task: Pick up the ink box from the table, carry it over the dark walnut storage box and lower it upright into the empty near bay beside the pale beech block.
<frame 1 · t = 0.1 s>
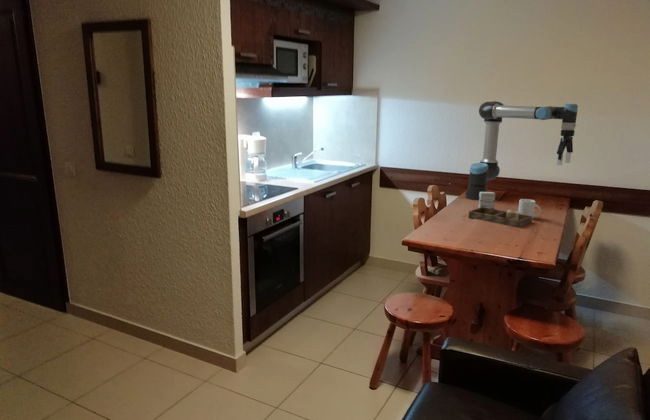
hand: (563, 163, 300), 28 cm above the table, fingers open, 13 cm apart
mug: (528, 219, 279), on the table
ink box: (485, 211, 296), on the table
storage box: (499, 220, 274), on the table
beech block: (511, 222, 269), point 1 cm above the table, touching storage box
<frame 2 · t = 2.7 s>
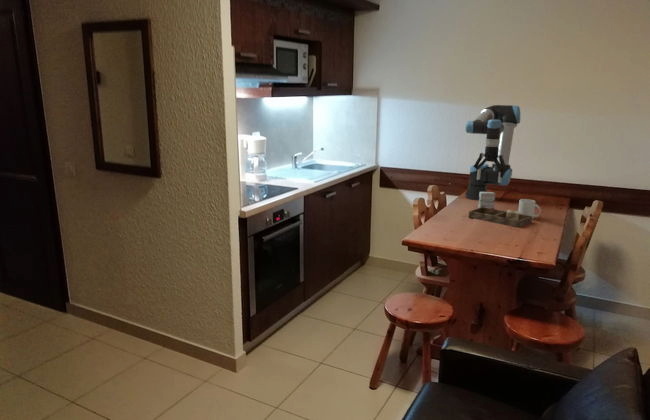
hand: (488, 181, 291), 19 cm above the table, fingers open, 13 cm apart
nothing on the table moved.
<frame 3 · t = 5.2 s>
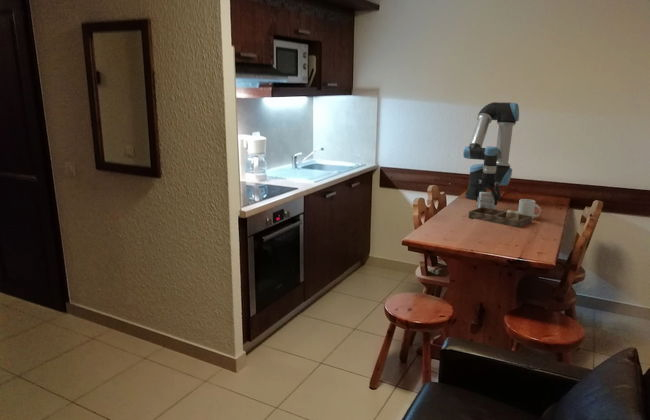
hand: (485, 208, 295), 2 cm above the table, fingers closed on ink box, 9 cm apart
ink box: (485, 211, 296), on the table, touching gripper
everything else where it was.
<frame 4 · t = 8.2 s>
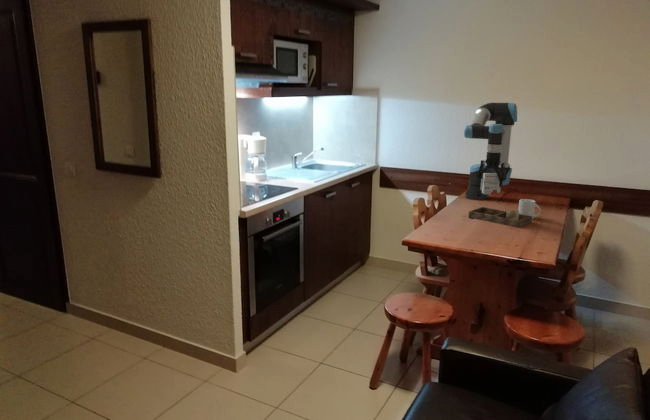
hand: (490, 190, 275), 16 cm above the table, fingers closed on ink box, 9 cm apart
ink box: (489, 193, 276), point 14 cm above the table, touching gripper
everything else where it was.
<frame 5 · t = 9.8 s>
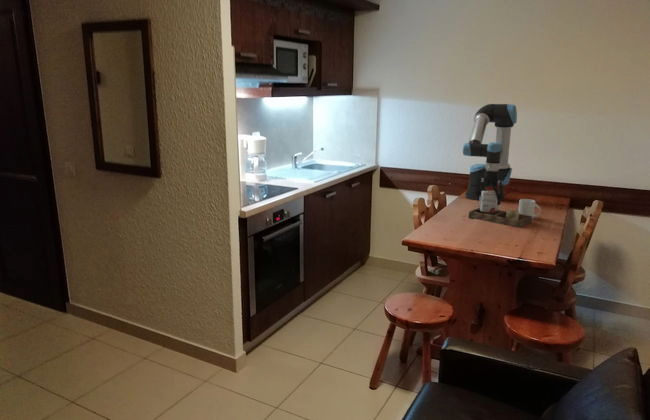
hand: (488, 208, 278), 6 cm above the table, fingers closed on ink box, 9 cm apart
ink box: (488, 211, 278), point 4 cm above the table, touching gripper
everything else where it was.
when the fingers open (4 cm above the table, at t = 11.2 s): ink box drops 2 cm, resting on storage box.
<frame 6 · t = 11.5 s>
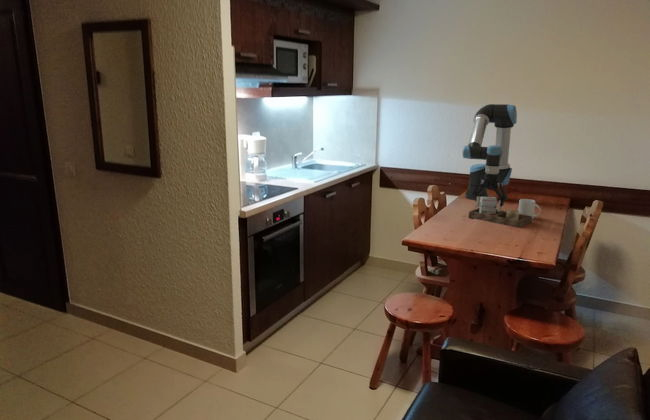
hand: (488, 209, 278), 5 cm above the table, fingers open, 13 cm apart
ink box: (486, 217, 280), resting on storage box
everything else where it was.
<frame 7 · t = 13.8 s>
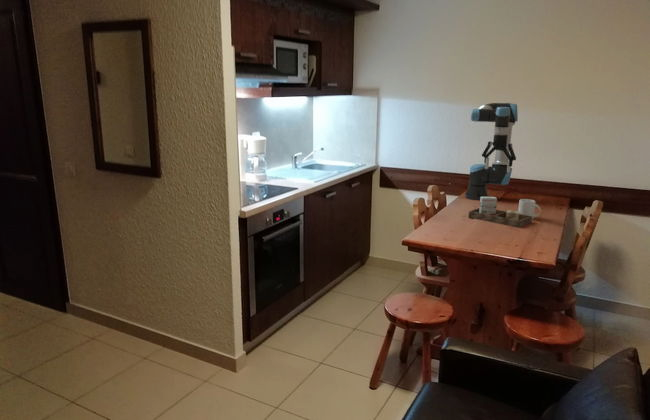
hand: (497, 170, 284), 26 cm above the table, fingers open, 13 cm apart
nothing on the table moved.
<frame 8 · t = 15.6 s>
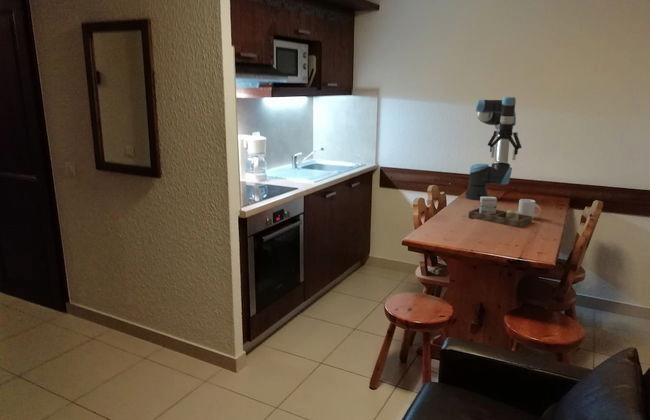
hand: (502, 158, 293), 32 cm above the table, fingers open, 13 cm apart
nothing on the table moved.
at the end: ink box inside the target area on the storage box (0.7 cm from its centre), point 0.4 cm above the storage box's base; ink box tilted 0°; the gripper is holding nothing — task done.
